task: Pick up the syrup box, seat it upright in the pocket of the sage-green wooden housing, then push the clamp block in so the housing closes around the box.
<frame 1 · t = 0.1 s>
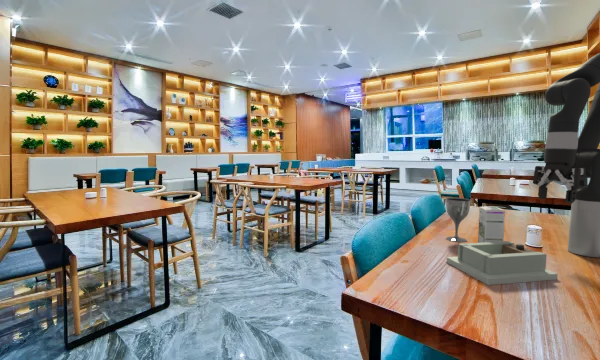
hand: (555, 200, 97), 17 cm above the table, tool pointing down, fingers open, 8 cm apart
housing: (496, 270, 86), on the table
syrup box: (489, 252, 102), on the table
wine glass: (456, 240, 116), on the table
clamp block: (519, 253, 87), point 4 cm above the table, slide at 0.0 cm
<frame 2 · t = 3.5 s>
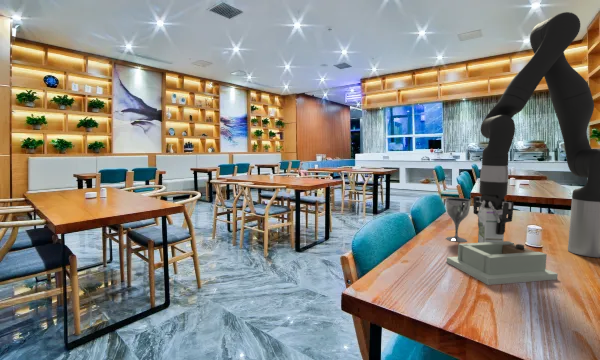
hand: (490, 231, 101), 7 cm above the table, tool pointing down, fingers closed on syrup box, 7 cm apart
syrup box: (489, 252, 102), on the table, touching gripper
everything else where it was.
when the fingers open (10 cm above the table, at t = 9.0 s): syrup box drops 2 cm, resting on housing.
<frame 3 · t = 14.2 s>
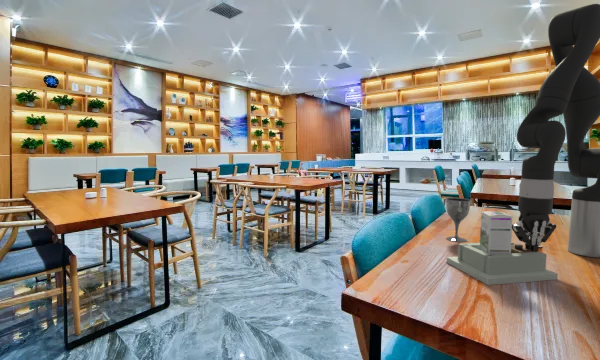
hand: (531, 257, 88), 3 cm above the table, tool pointing down, fingers closed
syrup box: (493, 266, 86), point 1 cm above the table, touching housing
clamp block: (518, 254, 87), point 4 cm above the table, slide at 0.4 cm, touching gripper
everything else where it was.
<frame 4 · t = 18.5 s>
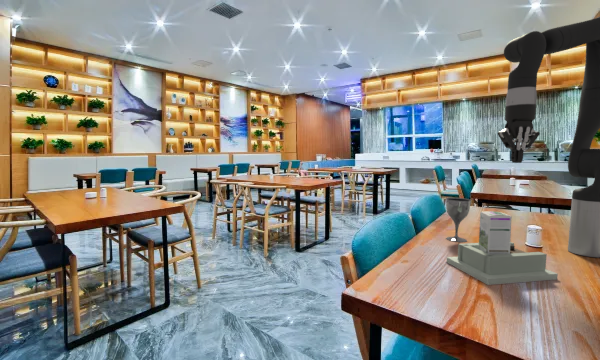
hand: (516, 162, 96), 29 cm above the table, tool pointing down, fingers closed
clamp block: (510, 254, 87), point 4 cm above the table, slide at 3.0 cm
everything else where it was.
at the end: syrup box 0.7 cm from the target spot on the housing, point 1.3 cm above the housing's base; syrup box tilted 0°; clamp block slide at 3.0 cm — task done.
